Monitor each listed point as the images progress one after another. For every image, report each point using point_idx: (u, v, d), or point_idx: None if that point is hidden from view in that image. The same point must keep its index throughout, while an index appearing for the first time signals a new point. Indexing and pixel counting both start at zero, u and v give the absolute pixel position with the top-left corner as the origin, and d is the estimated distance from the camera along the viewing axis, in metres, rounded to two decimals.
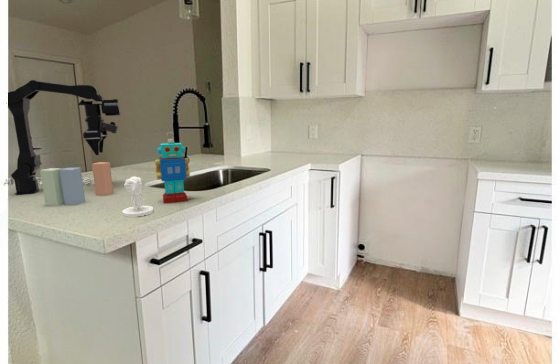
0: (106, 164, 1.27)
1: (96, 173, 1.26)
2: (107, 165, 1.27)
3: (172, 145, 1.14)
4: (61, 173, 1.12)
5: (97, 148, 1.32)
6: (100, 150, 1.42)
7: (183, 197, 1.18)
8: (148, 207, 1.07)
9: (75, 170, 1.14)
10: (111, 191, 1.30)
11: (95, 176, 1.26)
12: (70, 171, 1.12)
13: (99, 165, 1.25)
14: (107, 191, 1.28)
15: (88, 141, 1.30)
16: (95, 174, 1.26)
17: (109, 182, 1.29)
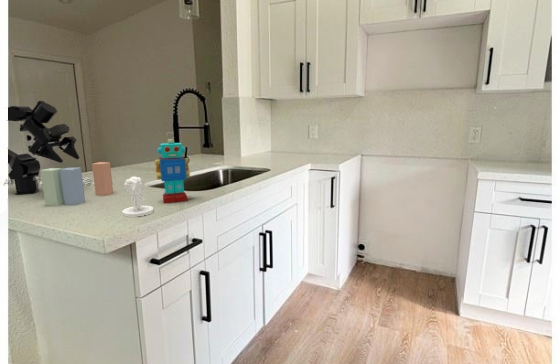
0: (106, 164, 1.27)
1: (96, 173, 1.26)
2: (107, 165, 1.27)
3: (172, 145, 1.14)
4: (61, 173, 1.12)
5: (55, 156, 1.22)
6: (76, 156, 1.32)
7: (183, 197, 1.18)
8: (148, 207, 1.07)
9: (75, 170, 1.14)
10: (111, 191, 1.30)
11: (95, 176, 1.26)
12: (70, 171, 1.12)
13: (99, 165, 1.25)
14: (107, 191, 1.28)
15: (43, 155, 1.21)
16: (95, 174, 1.26)
17: (109, 182, 1.29)
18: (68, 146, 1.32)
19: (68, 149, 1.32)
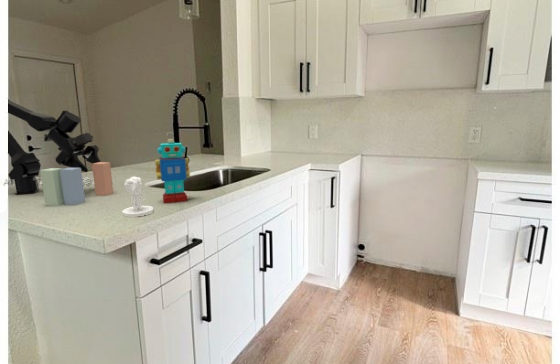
0: (106, 164, 1.27)
1: (96, 173, 1.26)
2: (107, 165, 1.27)
3: (172, 145, 1.14)
4: (61, 173, 1.12)
5: (80, 165, 1.22)
6: None
7: (183, 197, 1.18)
8: (148, 207, 1.07)
9: (75, 170, 1.14)
10: (111, 191, 1.30)
11: (95, 176, 1.26)
12: (70, 171, 1.12)
13: (99, 165, 1.25)
14: (107, 191, 1.28)
15: (68, 165, 1.21)
16: (95, 174, 1.26)
17: (109, 182, 1.29)
18: (91, 155, 1.32)
19: (91, 158, 1.32)
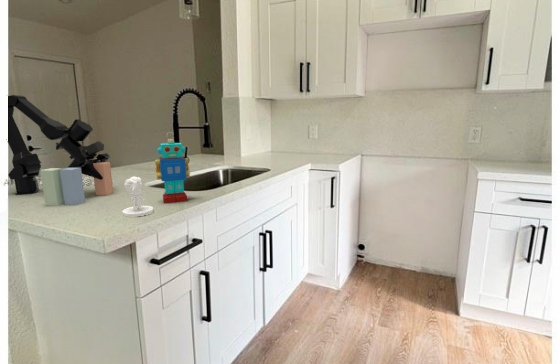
0: (106, 164, 1.27)
1: None
2: (107, 165, 1.27)
3: (172, 145, 1.14)
4: (61, 173, 1.12)
5: (96, 173, 1.24)
6: None
7: (183, 197, 1.18)
8: (148, 207, 1.07)
9: (75, 170, 1.14)
10: (111, 191, 1.30)
11: None
12: (70, 171, 1.12)
13: (99, 165, 1.25)
14: (107, 191, 1.28)
15: (84, 172, 1.24)
16: None
17: (109, 182, 1.29)
18: None
19: None
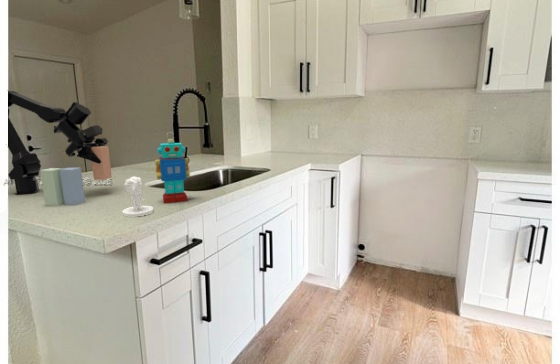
0: (104, 148, 1.25)
1: None
2: (105, 149, 1.26)
3: (172, 145, 1.14)
4: (61, 173, 1.12)
5: (94, 157, 1.23)
6: None
7: (183, 197, 1.18)
8: (148, 207, 1.07)
9: (75, 170, 1.14)
10: (109, 176, 1.29)
11: None
12: (70, 171, 1.12)
13: (97, 149, 1.23)
14: (105, 175, 1.26)
15: (82, 156, 1.22)
16: None
17: (107, 166, 1.28)
18: None
19: None
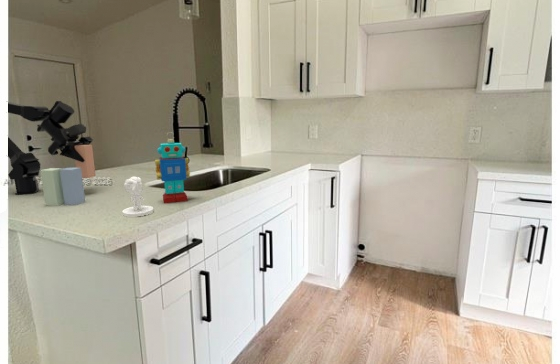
0: (88, 146, 1.26)
1: None
2: (89, 147, 1.26)
3: (172, 145, 1.14)
4: (61, 173, 1.12)
5: (77, 155, 1.23)
6: None
7: (183, 197, 1.18)
8: (148, 207, 1.07)
9: (75, 170, 1.14)
10: (93, 174, 1.29)
11: None
12: (70, 171, 1.12)
13: (80, 147, 1.24)
14: (89, 173, 1.27)
15: (65, 154, 1.23)
16: None
17: (91, 165, 1.28)
18: None
19: None
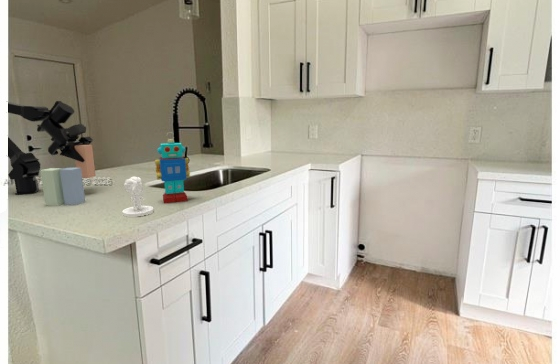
0: (88, 146, 1.26)
1: None
2: (89, 147, 1.26)
3: (172, 145, 1.14)
4: (61, 173, 1.12)
5: (77, 155, 1.23)
6: None
7: (183, 197, 1.18)
8: (148, 207, 1.07)
9: (75, 170, 1.14)
10: (93, 174, 1.29)
11: None
12: (70, 171, 1.12)
13: (80, 147, 1.24)
14: (89, 173, 1.27)
15: (65, 154, 1.23)
16: None
17: (91, 165, 1.28)
18: None
19: None
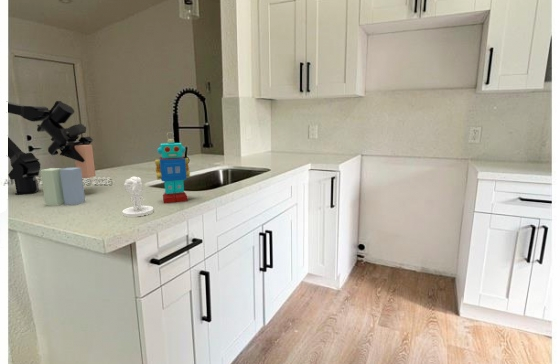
0: (88, 146, 1.26)
1: None
2: (89, 147, 1.26)
3: (172, 145, 1.14)
4: (61, 173, 1.12)
5: (77, 155, 1.23)
6: None
7: (183, 197, 1.18)
8: (148, 207, 1.07)
9: (75, 170, 1.14)
10: (93, 174, 1.29)
11: None
12: (70, 171, 1.12)
13: (80, 147, 1.24)
14: (89, 173, 1.27)
15: (65, 154, 1.23)
16: None
17: (91, 165, 1.28)
18: None
19: None
